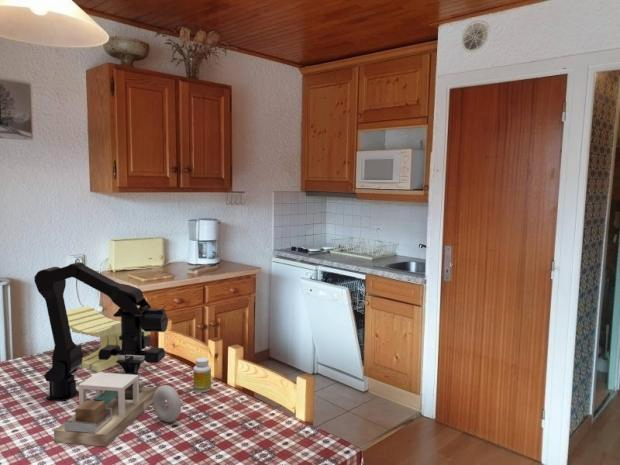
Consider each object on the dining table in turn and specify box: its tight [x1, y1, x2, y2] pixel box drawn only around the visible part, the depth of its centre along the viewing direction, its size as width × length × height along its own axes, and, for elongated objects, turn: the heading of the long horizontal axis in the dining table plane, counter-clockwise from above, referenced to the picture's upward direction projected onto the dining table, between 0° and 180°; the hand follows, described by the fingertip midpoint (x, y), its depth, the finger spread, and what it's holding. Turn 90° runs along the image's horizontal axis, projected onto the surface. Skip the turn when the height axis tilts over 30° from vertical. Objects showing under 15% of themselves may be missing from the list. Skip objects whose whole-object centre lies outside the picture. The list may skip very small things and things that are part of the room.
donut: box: [152, 384, 182, 423], centre depth 134 cm, size 10×4×10 cm, turn 55°
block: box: [74, 399, 105, 425], centre depth 126 cm, size 5×5×5 cm
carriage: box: [63, 371, 140, 433], centre depth 134 cm, size 8×25×6 cm, turn 172°
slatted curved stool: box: [66, 305, 152, 372], centre depth 179 cm, size 30×16×18 cm, turn 63°
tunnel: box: [78, 371, 140, 417], centre depth 135 cm, size 12×9×8 cm
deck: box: [53, 385, 158, 448], centre depth 136 cm, size 14×29×3 cm, turn 172°
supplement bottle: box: [193, 357, 212, 393], centre depth 156 cm, size 5×5×10 cm
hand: (132, 381), depth 148 cm, fingers closed, pressing on carriage
